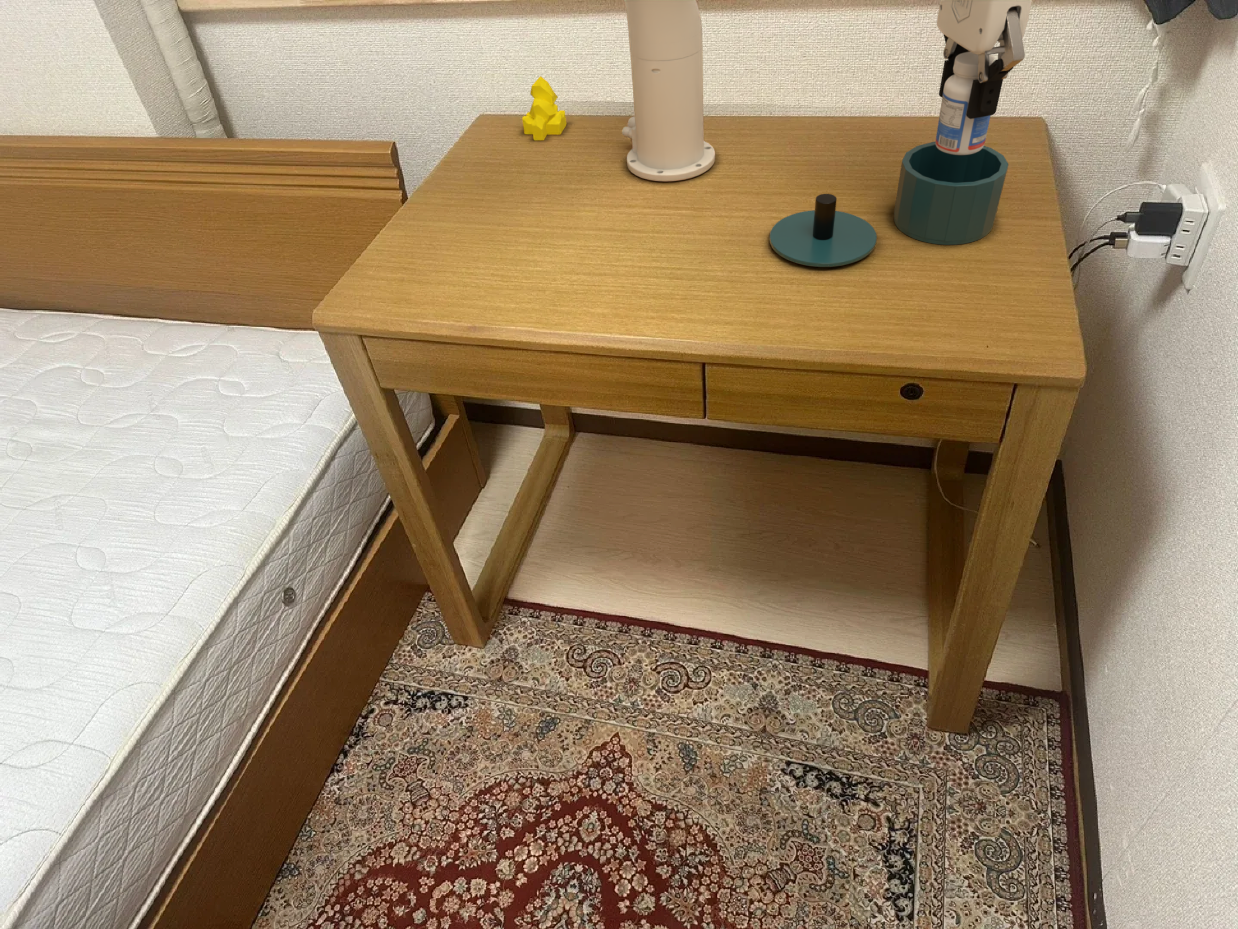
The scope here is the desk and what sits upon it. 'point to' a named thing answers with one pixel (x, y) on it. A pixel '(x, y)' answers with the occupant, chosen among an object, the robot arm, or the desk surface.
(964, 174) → the tin
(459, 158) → the desk surface
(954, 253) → the desk surface
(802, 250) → the lid
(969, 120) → the pill bottle
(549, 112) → the yellow irregular lump
